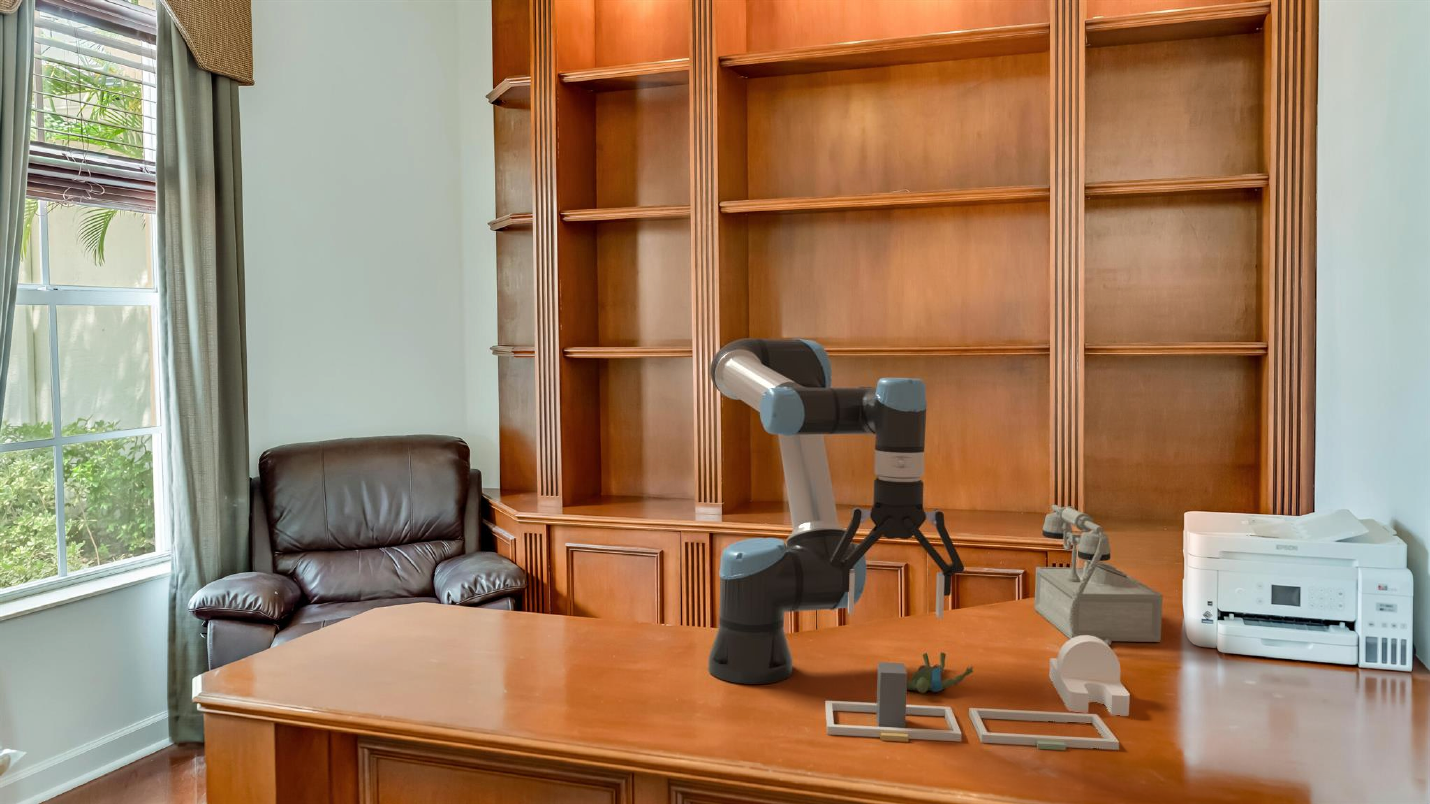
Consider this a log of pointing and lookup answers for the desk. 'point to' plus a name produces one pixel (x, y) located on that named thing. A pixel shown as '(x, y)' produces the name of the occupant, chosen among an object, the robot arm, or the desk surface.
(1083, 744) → the socket
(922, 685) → the figurine
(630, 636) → the desk surface
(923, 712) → the socket
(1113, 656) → the white slotted bracket
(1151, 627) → the rotary telephone
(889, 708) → the plug
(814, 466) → the robot arm
